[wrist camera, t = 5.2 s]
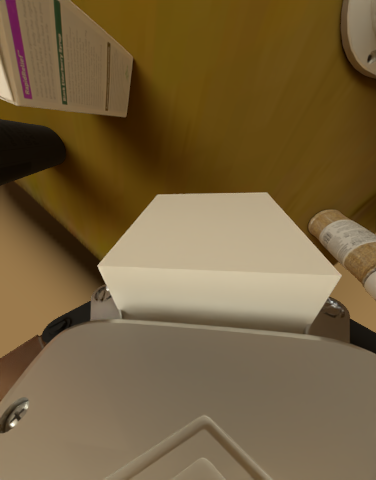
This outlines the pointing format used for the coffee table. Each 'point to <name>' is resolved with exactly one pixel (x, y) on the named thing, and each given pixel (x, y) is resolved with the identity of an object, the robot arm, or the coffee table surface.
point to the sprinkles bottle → (348, 245)
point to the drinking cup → (27, 150)
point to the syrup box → (61, 59)
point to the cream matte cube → (218, 265)
